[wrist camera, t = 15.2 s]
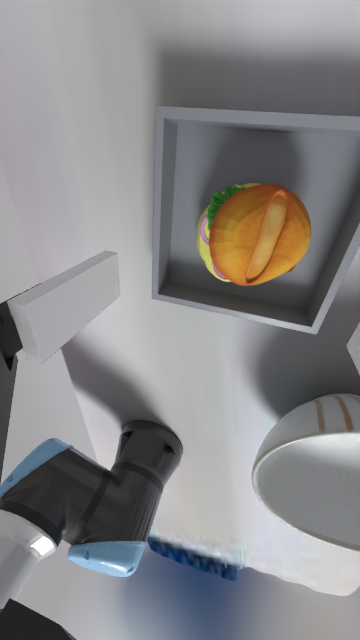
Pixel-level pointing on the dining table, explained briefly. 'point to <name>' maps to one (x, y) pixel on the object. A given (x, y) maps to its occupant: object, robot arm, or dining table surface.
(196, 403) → the dining table surface
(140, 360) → the dining table surface
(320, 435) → the decorative bowl
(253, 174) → the bin
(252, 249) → the cheeseburger
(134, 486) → the robot arm
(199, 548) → the dining table surface
